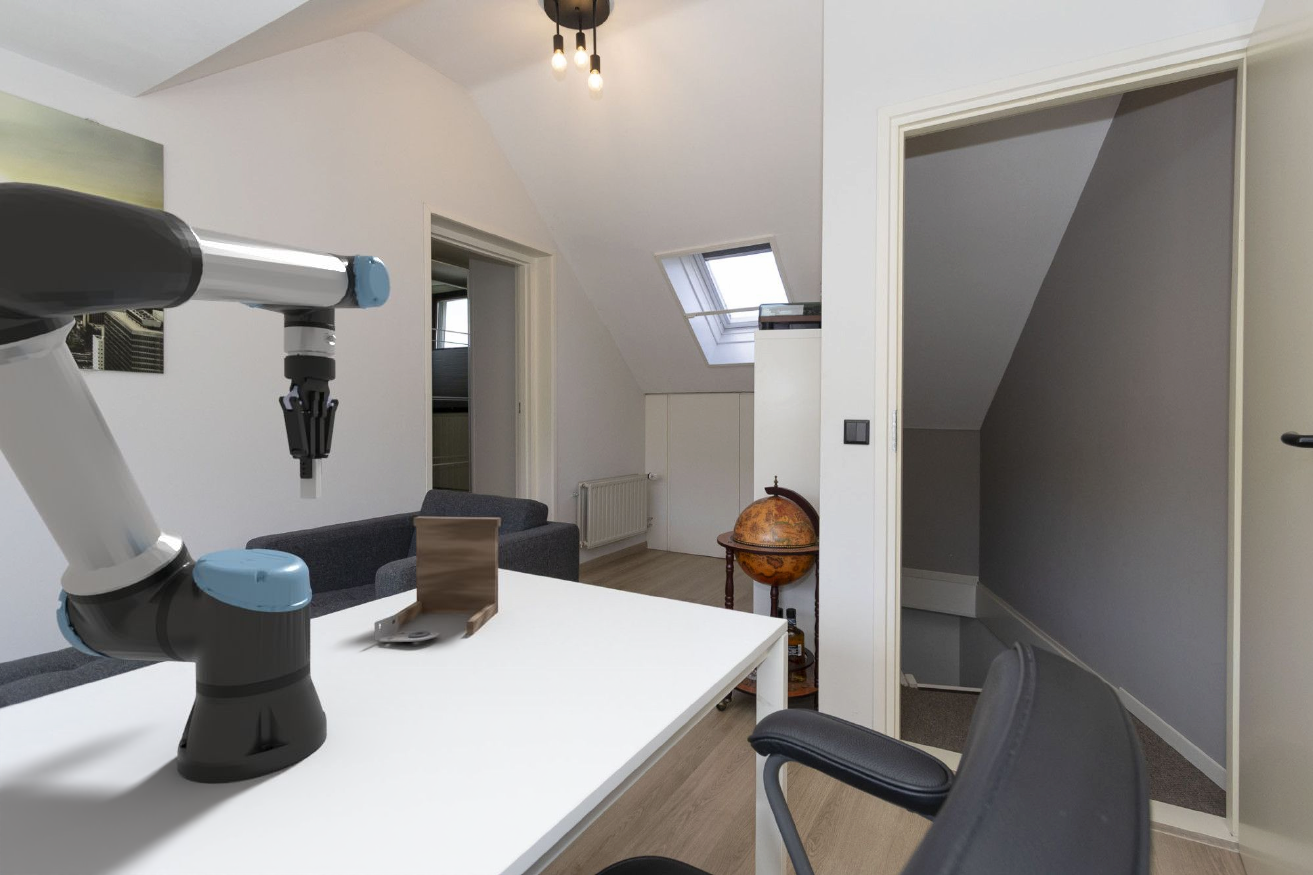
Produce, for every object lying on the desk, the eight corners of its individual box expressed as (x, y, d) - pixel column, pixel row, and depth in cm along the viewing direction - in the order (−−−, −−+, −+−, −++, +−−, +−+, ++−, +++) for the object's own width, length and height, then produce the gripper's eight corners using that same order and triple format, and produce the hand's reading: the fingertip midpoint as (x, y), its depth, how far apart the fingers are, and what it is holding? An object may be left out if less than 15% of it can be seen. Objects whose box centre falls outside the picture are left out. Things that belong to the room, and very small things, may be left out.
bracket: (425, 645, 111) (426, 625, 111) (373, 641, 113) (374, 621, 113) (445, 636, 118) (446, 617, 118) (396, 632, 120) (396, 614, 120)
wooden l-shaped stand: (475, 635, 119) (475, 529, 119) (384, 632, 120) (383, 527, 120) (500, 612, 134) (500, 517, 133) (418, 610, 135) (418, 516, 134)
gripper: (307, 351, 100) (308, 503, 101) (353, 359, 113) (353, 494, 114) (261, 351, 101) (262, 502, 101) (312, 359, 114) (313, 493, 114)
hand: (311, 497), depth 108 cm, fingers closed
